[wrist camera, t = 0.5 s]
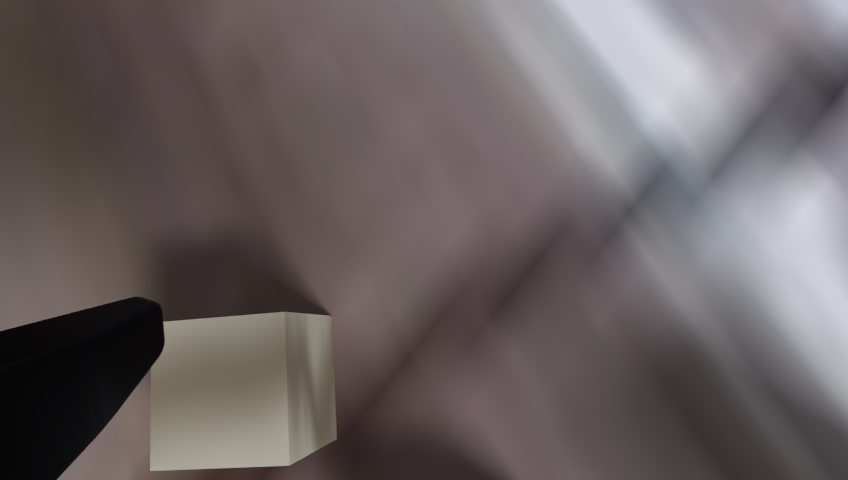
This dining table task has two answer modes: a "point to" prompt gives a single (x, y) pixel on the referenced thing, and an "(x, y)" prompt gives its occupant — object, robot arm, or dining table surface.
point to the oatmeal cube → (242, 391)
